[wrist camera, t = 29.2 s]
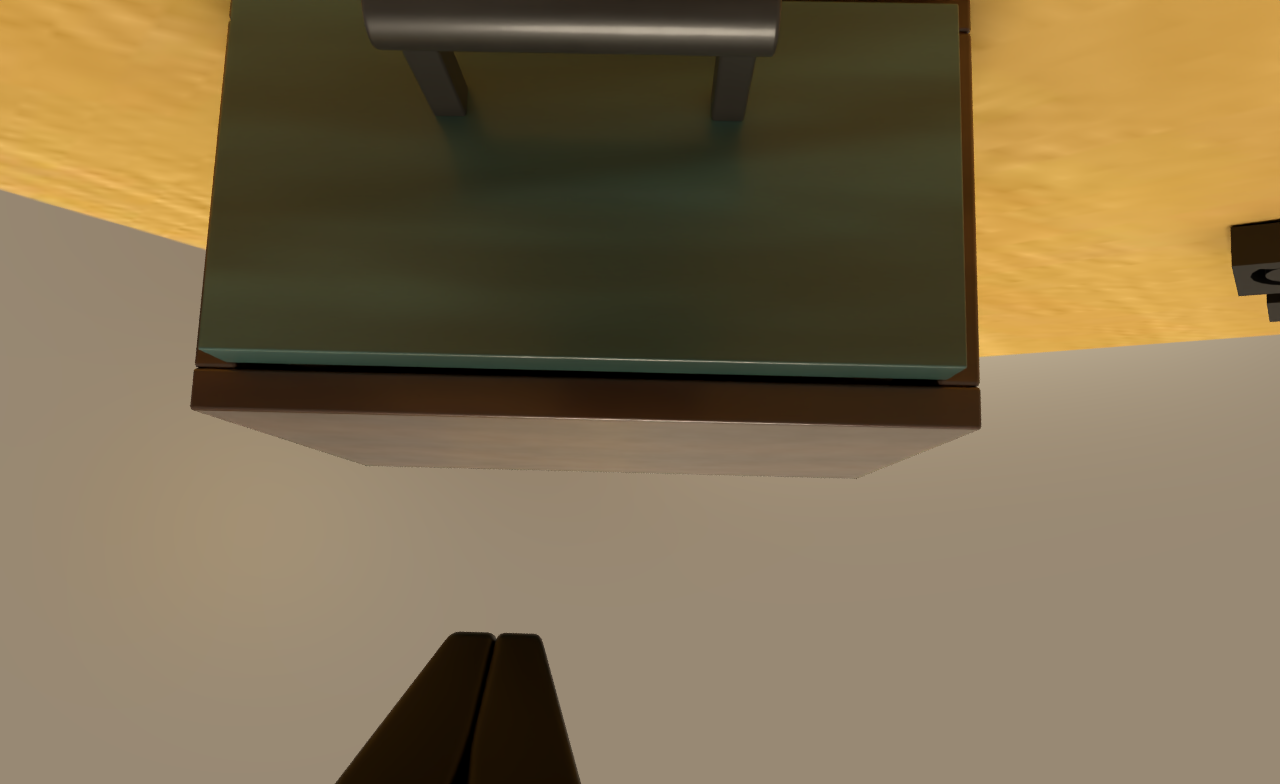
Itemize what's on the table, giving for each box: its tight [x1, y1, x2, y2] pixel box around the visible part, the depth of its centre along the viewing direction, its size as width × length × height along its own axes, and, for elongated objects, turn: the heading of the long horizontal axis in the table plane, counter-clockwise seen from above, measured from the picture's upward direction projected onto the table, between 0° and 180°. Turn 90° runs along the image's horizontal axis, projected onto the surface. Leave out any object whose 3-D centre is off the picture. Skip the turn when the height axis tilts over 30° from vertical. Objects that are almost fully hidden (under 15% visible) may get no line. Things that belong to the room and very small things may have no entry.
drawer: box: [198, 0, 967, 385], centre depth 22 cm, size 15×13×7 cm
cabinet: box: [190, 0, 981, 479], centre depth 25 cm, size 12×15×9 cm
